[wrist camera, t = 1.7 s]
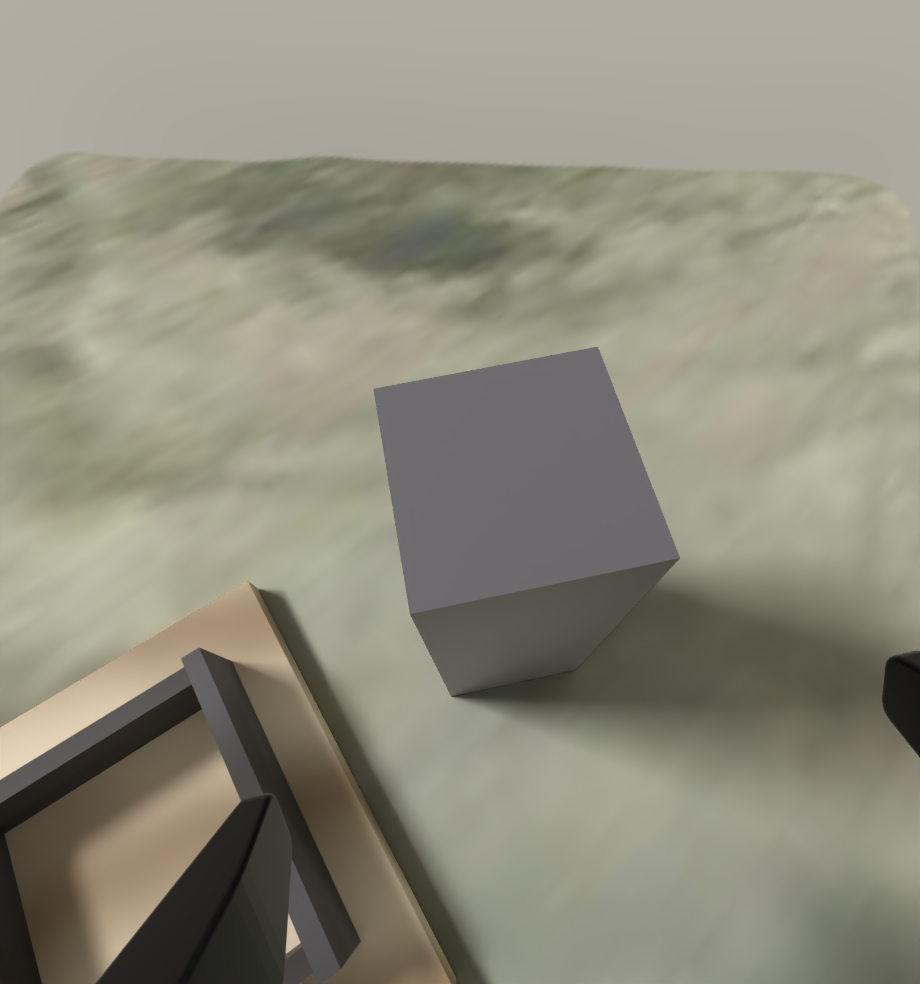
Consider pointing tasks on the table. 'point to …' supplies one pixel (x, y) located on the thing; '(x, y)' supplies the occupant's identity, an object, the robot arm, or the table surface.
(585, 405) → the plug block
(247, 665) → the socket board
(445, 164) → the table surface
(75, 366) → the table surface
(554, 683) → the table surface
